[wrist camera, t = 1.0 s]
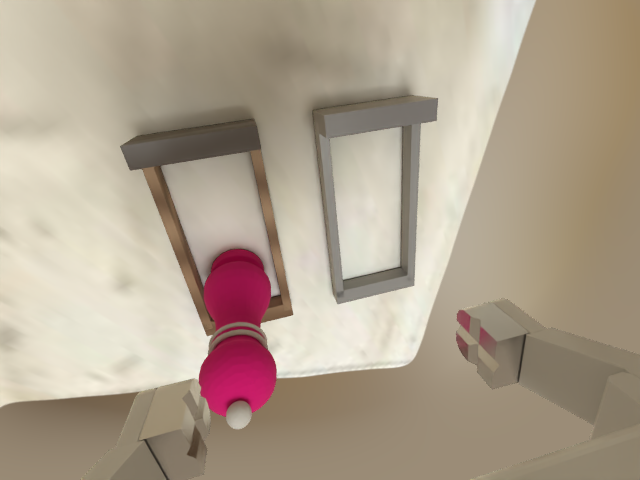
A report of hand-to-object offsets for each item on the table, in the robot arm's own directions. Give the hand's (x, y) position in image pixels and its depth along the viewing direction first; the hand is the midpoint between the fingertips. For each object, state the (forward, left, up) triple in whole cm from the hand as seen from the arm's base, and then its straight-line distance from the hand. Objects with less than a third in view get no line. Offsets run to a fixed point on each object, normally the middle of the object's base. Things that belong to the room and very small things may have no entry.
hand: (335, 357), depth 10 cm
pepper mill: (+13, -6, -28) cm, 31 cm away
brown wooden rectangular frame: (+8, -6, -28) cm, 29 cm away
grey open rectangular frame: (+8, +11, -28) cm, 31 cm away
